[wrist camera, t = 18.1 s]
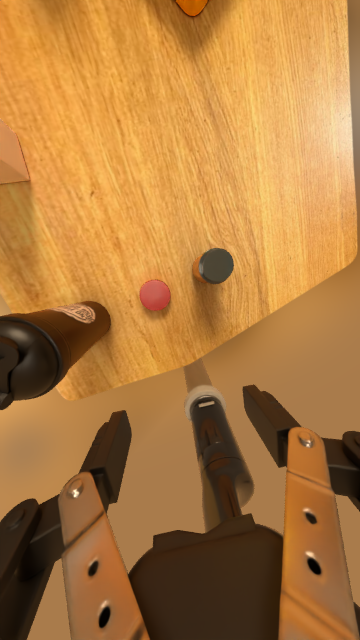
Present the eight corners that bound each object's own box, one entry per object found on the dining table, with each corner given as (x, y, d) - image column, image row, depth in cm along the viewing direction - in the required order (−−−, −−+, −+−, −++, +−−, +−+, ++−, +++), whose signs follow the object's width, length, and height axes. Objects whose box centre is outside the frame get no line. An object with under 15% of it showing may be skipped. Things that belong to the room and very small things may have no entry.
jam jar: (220, 280, 38) (237, 281, 29) (194, 285, 38) (202, 287, 29) (217, 252, 37) (234, 243, 27) (190, 256, 37) (198, 249, 27)
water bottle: (120, 307, 38) (53, 347, 16) (106, 347, 40) (29, 433, 18) (74, 289, 37) (-72, 307, 14) (62, 332, 39) (-83, 405, 16)
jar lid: (146, 275, 37) (145, 275, 35) (174, 286, 38) (174, 286, 36) (136, 303, 38) (135, 304, 36) (164, 313, 39) (164, 314, 37)
